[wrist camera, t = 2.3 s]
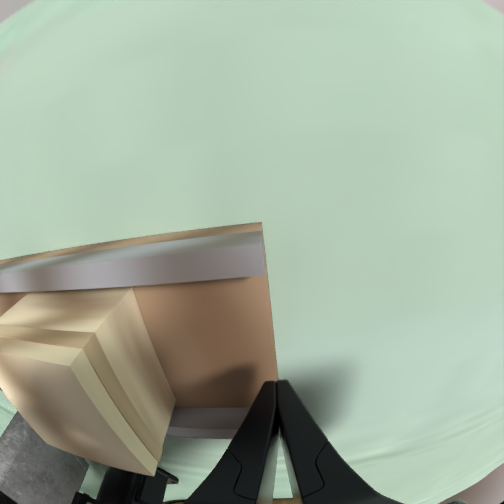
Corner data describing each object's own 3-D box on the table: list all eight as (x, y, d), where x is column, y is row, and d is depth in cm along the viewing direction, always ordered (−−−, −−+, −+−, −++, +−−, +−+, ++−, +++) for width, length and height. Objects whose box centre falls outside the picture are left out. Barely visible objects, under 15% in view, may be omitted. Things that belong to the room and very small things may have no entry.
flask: (44, 405, 17) (-23, 535, 1) (97, 470, 22) (63, 570, 6) (21, 395, 18) (-46, 510, 1) (75, 462, 23) (39, 555, 6)
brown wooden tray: (261, 221, 11) (262, 256, 7) (280, 399, 14) (282, 452, 11) (-56, 272, 13) (-79, 287, 10) (-15, 361, 17) (-32, 381, 13)
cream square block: (132, 285, 11) (70, 364, 6) (177, 400, 13) (155, 477, 8) (29, 291, 11) (-29, 341, 6) (79, 388, 14) (46, 443, 9)
